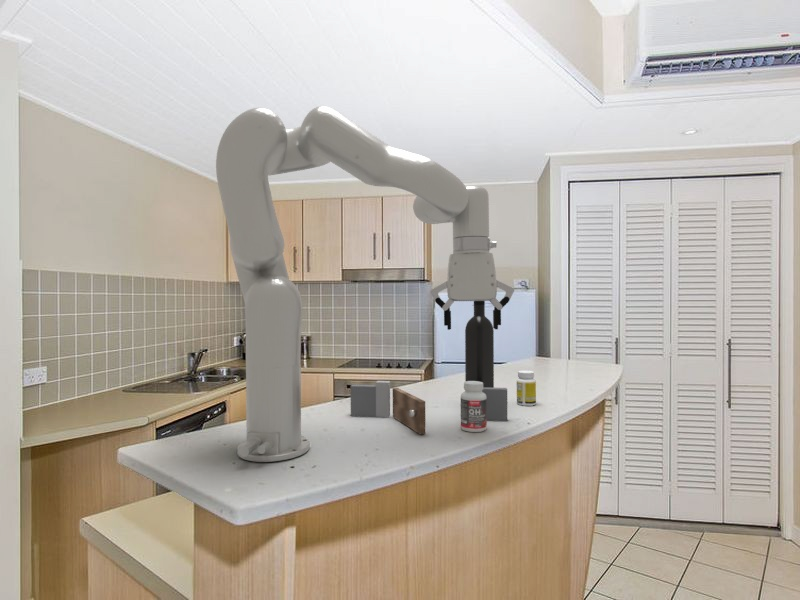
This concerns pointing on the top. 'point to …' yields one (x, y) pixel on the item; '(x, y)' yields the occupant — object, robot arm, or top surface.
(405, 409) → the door
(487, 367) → the wine bottle
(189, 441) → the top surface
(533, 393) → the supplement bottle
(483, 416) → the pill bottle
